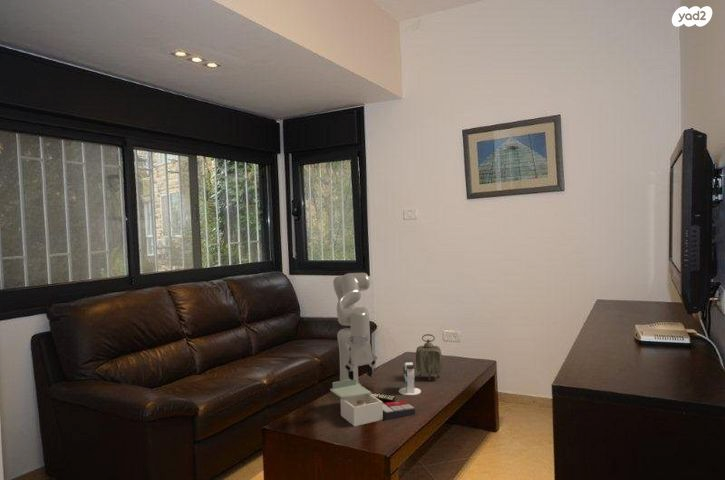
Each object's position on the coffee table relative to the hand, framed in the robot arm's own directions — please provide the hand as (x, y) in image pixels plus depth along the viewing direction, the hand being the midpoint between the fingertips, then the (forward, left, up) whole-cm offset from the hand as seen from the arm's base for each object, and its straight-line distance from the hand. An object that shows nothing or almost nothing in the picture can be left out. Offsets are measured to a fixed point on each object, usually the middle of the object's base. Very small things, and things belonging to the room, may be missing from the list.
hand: (360, 377), depth 214 cm
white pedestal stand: (-18, +37, -18) cm, 45 cm away
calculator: (+3, +15, -19) cm, 24 cm away
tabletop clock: (-29, +57, -18) cm, 67 cm away
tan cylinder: (0, 0, -17) cm, 17 cm away
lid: (-11, 0, -10) cm, 15 cm away
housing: (0, 0, -18) cm, 18 cm away
